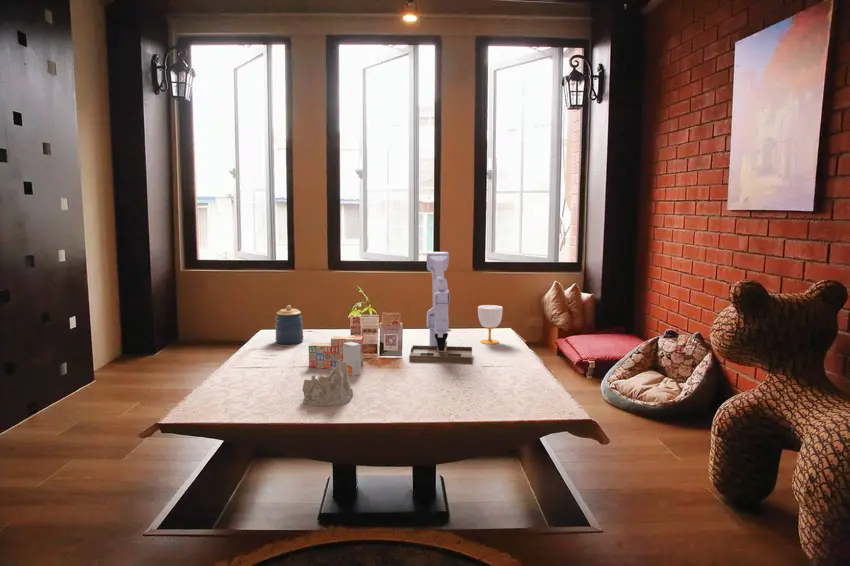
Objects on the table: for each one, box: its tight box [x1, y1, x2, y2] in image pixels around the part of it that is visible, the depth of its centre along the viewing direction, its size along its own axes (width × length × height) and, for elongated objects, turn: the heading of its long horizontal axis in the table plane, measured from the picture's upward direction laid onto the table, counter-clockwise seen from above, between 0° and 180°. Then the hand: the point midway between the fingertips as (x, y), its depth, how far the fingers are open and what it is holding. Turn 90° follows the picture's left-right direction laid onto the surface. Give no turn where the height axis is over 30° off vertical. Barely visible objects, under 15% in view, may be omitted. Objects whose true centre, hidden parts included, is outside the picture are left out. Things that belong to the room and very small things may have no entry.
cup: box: [477, 304, 504, 345], centre depth 290 cm, size 12×12×17 cm
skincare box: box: [343, 342, 362, 377], centre depth 236 cm, size 6×4×12 cm
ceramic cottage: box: [302, 360, 354, 407], centre depth 205 cm, size 16×16×15 cm
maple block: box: [437, 340, 448, 352], centre depth 263 cm, size 4×4×4 cm
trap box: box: [408, 344, 473, 364], centre depth 259 cm, size 12×26×4 cm, turn 85°
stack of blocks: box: [308, 334, 364, 369], centre depth 246 cm, size 21×6×12 cm, turn 86°
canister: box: [274, 304, 304, 345], centre depth 289 cm, size 13×13×18 cm
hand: (441, 350), depth 259 cm, fingers closed
